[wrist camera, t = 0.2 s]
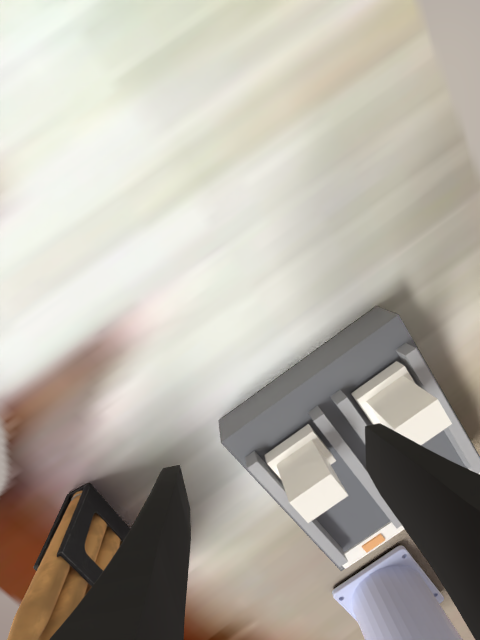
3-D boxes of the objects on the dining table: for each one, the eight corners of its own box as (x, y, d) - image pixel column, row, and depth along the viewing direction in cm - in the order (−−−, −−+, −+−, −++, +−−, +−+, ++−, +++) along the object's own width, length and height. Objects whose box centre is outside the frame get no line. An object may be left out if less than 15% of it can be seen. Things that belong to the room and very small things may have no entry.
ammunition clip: (66, 493, 22) (-76, 767, 11) (89, 481, 22) (-30, 743, 11) (146, 580, 25) (101, 865, 14) (165, 570, 25) (137, 847, 14)
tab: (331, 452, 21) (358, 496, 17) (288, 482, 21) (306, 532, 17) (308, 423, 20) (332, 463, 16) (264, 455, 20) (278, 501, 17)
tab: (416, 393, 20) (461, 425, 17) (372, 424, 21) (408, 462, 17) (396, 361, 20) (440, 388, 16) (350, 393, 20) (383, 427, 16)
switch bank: (461, 450, 26) (500, 481, 23) (328, 541, 27) (346, 584, 23) (376, 305, 21) (409, 318, 18) (218, 420, 22) (222, 452, 19)
